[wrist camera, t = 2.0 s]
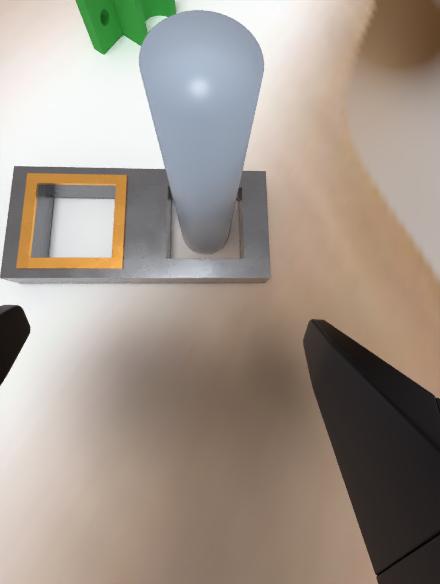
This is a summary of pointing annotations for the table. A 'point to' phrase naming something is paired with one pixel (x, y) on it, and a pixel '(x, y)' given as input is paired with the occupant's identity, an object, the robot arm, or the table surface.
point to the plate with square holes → (125, 229)
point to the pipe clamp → (120, 19)
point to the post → (202, 115)
